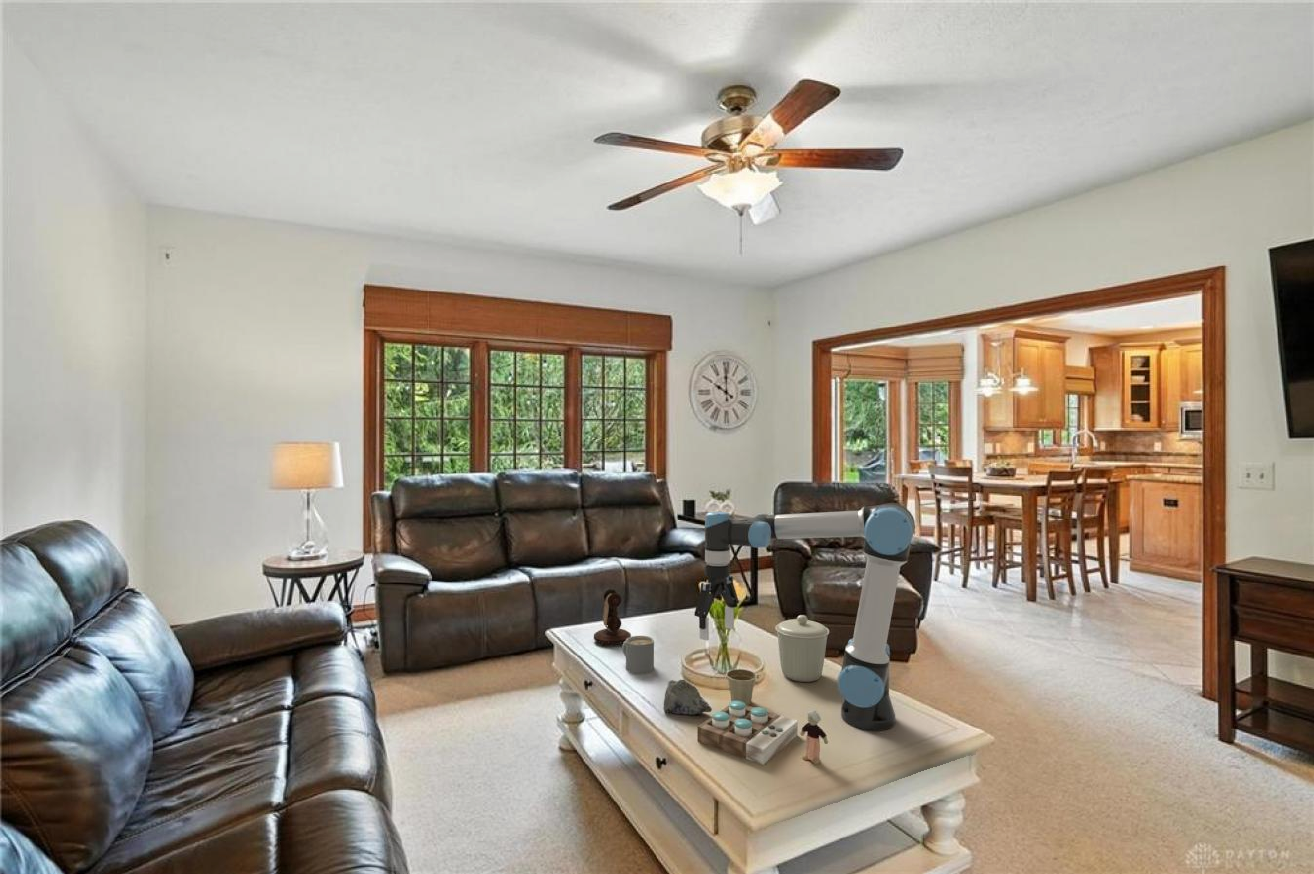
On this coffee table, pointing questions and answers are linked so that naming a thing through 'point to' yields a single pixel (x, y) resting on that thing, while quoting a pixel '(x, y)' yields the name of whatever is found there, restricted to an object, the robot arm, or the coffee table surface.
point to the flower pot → (741, 685)
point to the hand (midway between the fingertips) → (717, 633)
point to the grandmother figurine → (813, 737)
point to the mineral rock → (684, 699)
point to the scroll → (611, 621)
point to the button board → (756, 746)
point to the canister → (802, 648)
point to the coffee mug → (639, 654)
